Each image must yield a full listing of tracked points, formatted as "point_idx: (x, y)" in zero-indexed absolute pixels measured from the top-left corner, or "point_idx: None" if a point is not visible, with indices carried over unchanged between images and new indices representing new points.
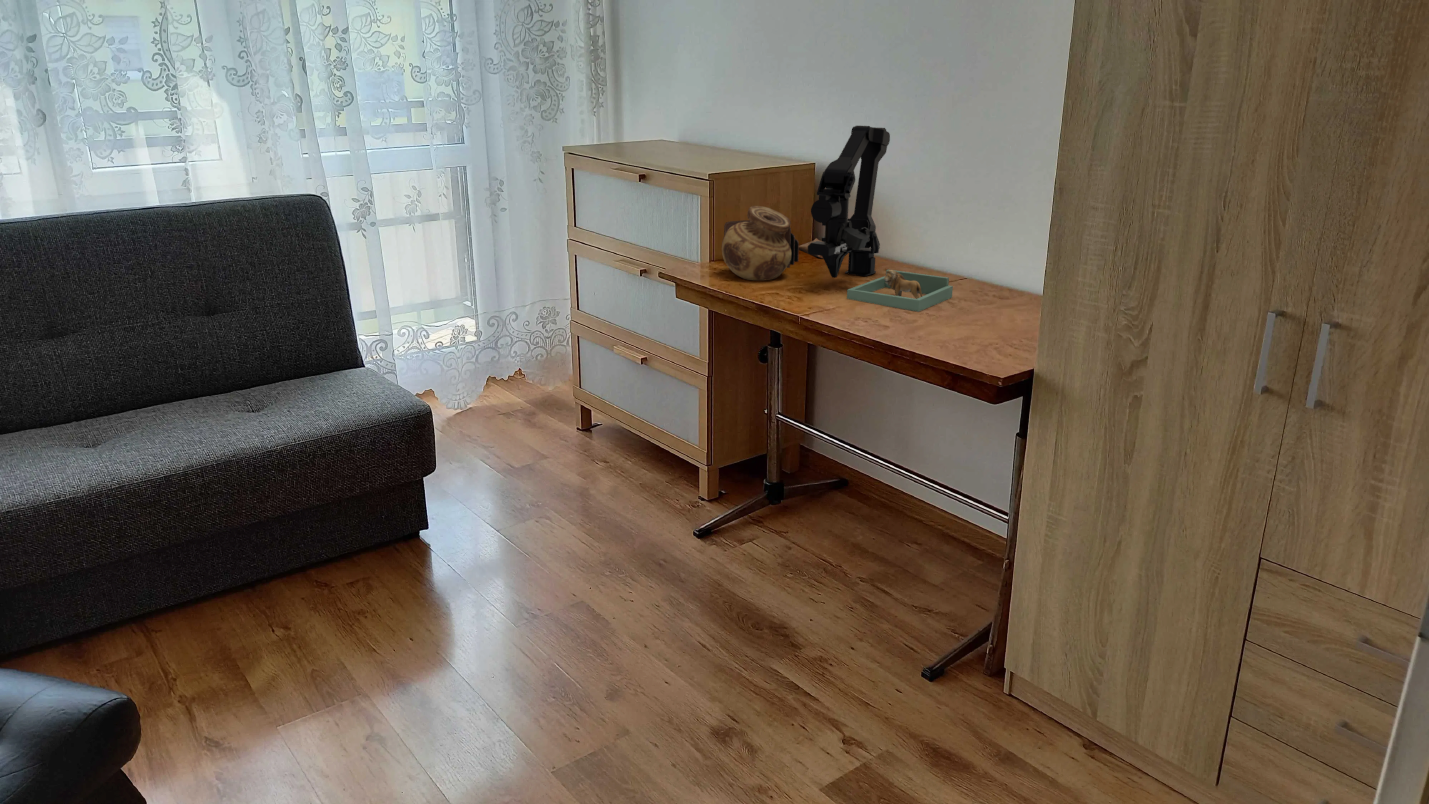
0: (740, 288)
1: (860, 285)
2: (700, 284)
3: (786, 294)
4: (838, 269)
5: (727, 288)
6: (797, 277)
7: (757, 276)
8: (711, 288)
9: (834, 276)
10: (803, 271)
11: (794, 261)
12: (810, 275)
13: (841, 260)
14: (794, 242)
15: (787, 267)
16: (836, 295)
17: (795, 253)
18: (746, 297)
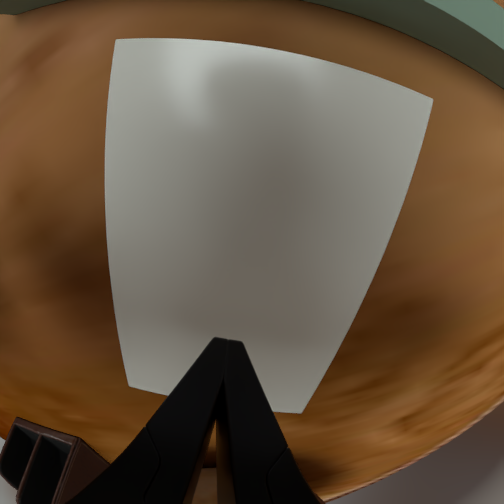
0: (347, 473)
1: (463, 10)
2: (326, 498)
3: (416, 399)
4: (205, 394)
5: (354, 480)
6: (111, 427)
7: (315, 495)
8: (360, 486)
9: (245, 355)
10: (40, 412)
11: (20, 431)
12: (56, 400)
13: (147, 485)
14: (21, 485)
15: (78, 451)
16: (411, 209)
17: (12, 446)
18: (452, 432)
